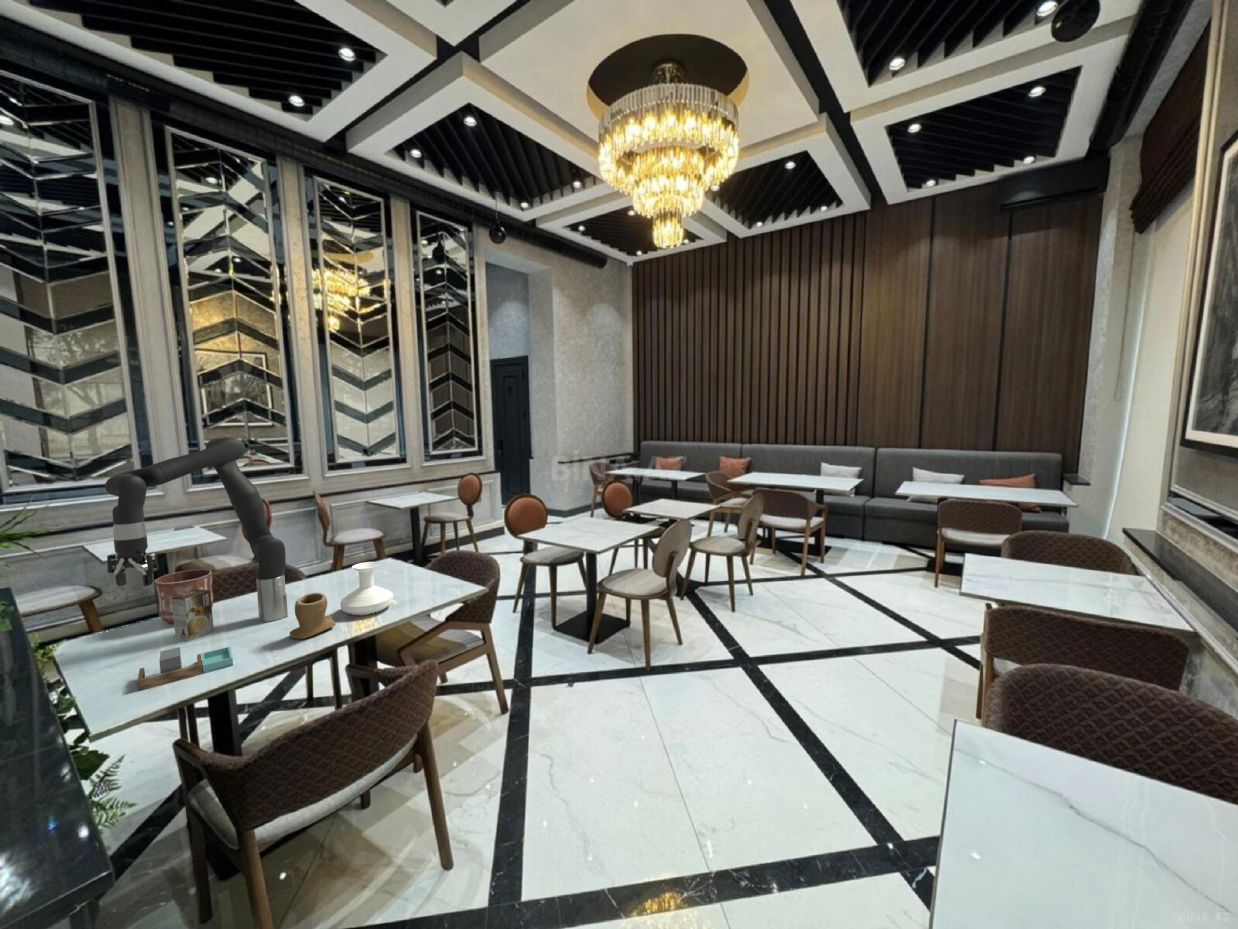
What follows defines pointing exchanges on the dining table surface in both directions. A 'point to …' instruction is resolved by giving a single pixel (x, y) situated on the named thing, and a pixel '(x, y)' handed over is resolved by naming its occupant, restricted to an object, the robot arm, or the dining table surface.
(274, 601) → the robot arm
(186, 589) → the pottery
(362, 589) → the white vase
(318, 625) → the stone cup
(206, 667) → the teal tray
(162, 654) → the chamfered grey block
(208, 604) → the coffee box
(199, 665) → the walnut bay
